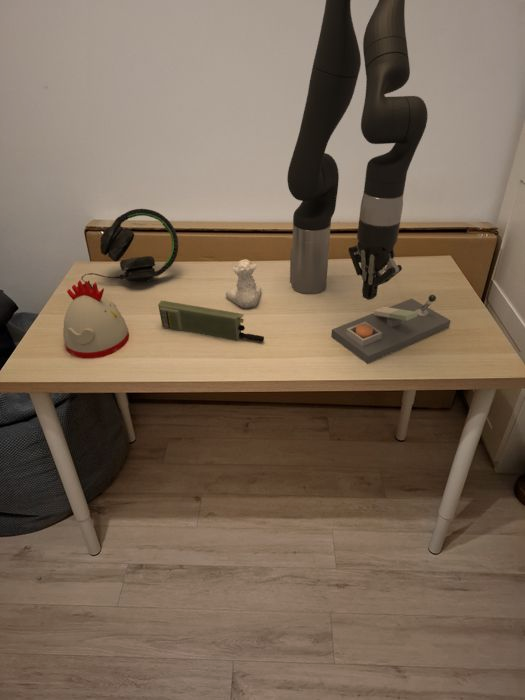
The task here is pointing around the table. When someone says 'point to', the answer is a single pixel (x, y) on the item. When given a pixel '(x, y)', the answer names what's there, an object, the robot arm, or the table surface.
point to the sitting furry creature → (245, 285)
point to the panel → (390, 331)
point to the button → (364, 330)
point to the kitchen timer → (93, 324)
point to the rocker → (395, 313)
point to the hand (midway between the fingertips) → (368, 297)
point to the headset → (119, 241)
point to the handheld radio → (204, 321)
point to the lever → (428, 302)
